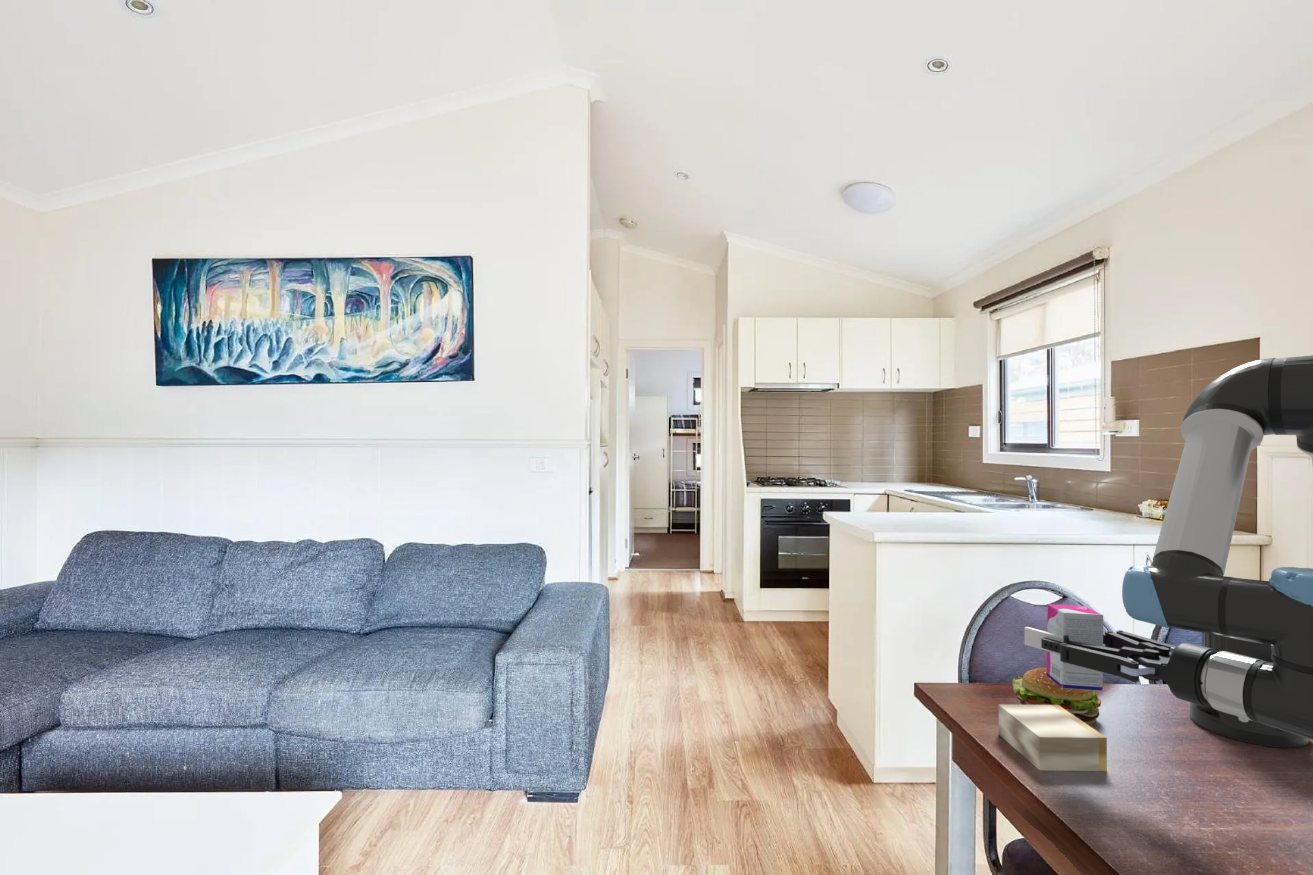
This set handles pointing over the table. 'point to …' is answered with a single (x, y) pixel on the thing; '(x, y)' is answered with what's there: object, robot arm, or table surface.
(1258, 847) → the table surface
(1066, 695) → the food
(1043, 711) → the block
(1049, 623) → the supplement box
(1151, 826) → the table surface
